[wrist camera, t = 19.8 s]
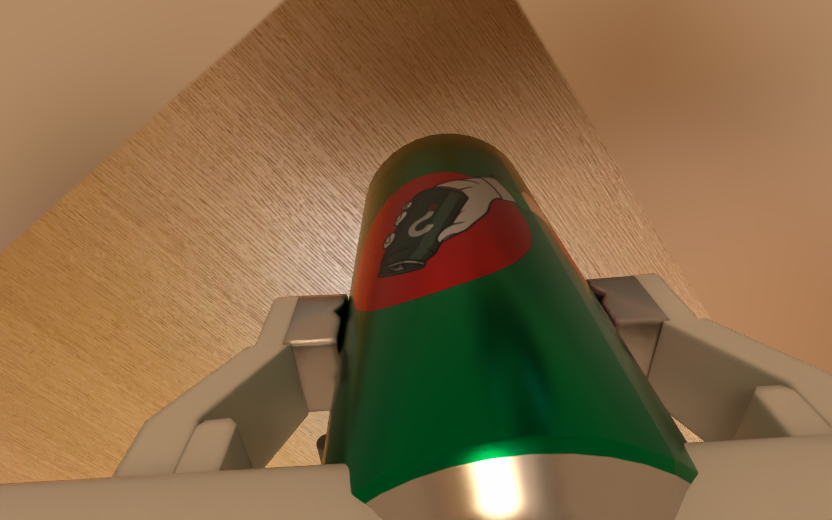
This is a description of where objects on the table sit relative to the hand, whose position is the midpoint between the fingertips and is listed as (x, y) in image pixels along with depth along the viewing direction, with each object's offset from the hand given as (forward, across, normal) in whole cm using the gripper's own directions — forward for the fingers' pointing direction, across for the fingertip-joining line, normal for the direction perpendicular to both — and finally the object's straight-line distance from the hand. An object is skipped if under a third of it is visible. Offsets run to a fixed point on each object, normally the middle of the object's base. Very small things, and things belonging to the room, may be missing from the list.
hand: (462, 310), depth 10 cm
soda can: (+6, 0, 0) cm, 6 cm away
